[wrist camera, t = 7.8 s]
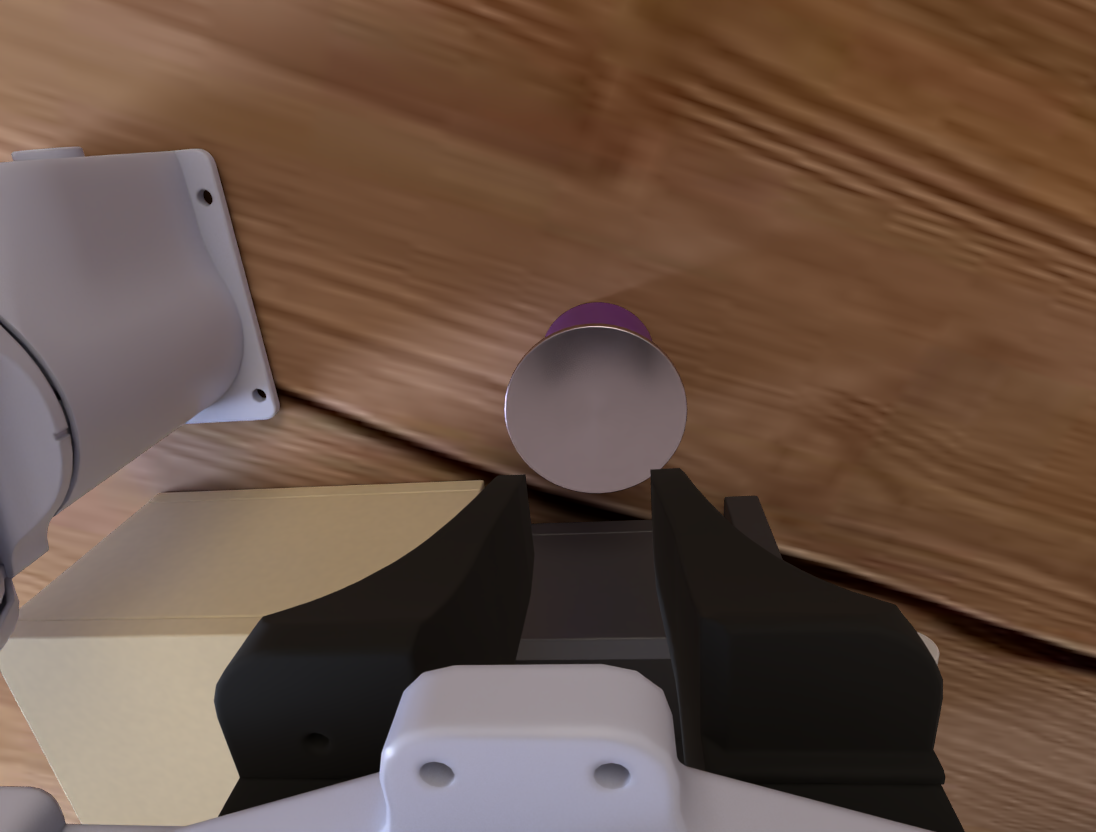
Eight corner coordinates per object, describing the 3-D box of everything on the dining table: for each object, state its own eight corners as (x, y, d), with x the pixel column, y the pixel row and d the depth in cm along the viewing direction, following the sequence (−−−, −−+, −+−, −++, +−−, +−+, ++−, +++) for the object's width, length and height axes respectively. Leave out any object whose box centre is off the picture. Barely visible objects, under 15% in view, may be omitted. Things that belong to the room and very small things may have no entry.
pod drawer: (896, 489, 24) (997, 618, 18) (863, 742, 29) (933, 913, 23) (423, 506, 26) (365, 627, 20) (467, 741, 31) (431, 898, 25)
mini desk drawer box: (483, 479, 26) (430, 632, 18) (520, 734, 32) (491, 938, 24) (158, 492, 28) (-19, 638, 20) (246, 734, 33) (133, 925, 25)
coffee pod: (517, 289, 23) (494, 332, 18) (670, 278, 23) (686, 319, 18) (532, 427, 25) (514, 496, 21) (672, 420, 25) (688, 490, 20)
